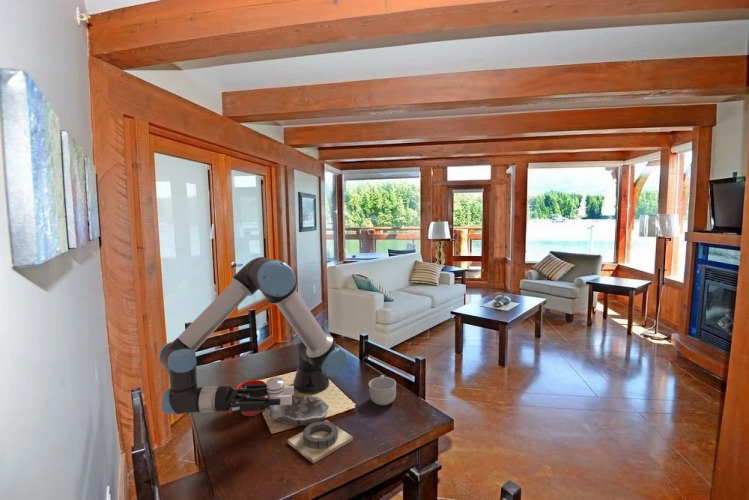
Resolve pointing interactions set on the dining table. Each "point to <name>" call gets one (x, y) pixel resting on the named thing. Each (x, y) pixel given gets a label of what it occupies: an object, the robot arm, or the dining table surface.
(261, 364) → the dining table surface
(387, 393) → the teacup
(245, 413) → the flower pot
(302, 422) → the brain slice
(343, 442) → the ring board
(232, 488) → the dining table surface
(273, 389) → the piston
